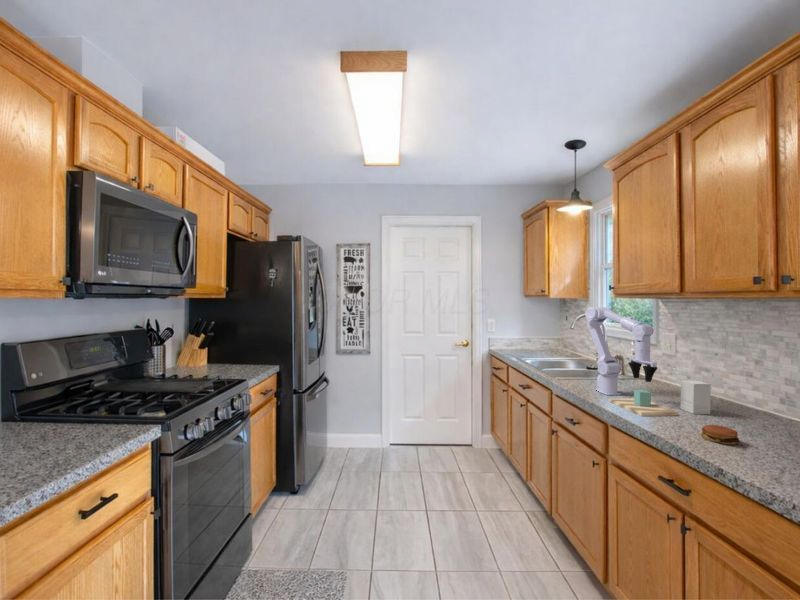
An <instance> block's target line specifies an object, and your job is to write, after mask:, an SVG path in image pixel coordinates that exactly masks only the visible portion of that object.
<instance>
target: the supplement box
mask: <svg viewBox="0 0 800 600" xmlns="http://www.w3.org/2000/svg"><path fill="white" fill-rule="evenodd" d="M711 387H712V386H711V383H707V382H704V381H700V380H693V379H691V380H688V379H687V380H683V379H682V380H680V407H679V408H680V409H681V410H682V411H685V412H688V413H691V414H692V415H710V414H711Z"/></svg>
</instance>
